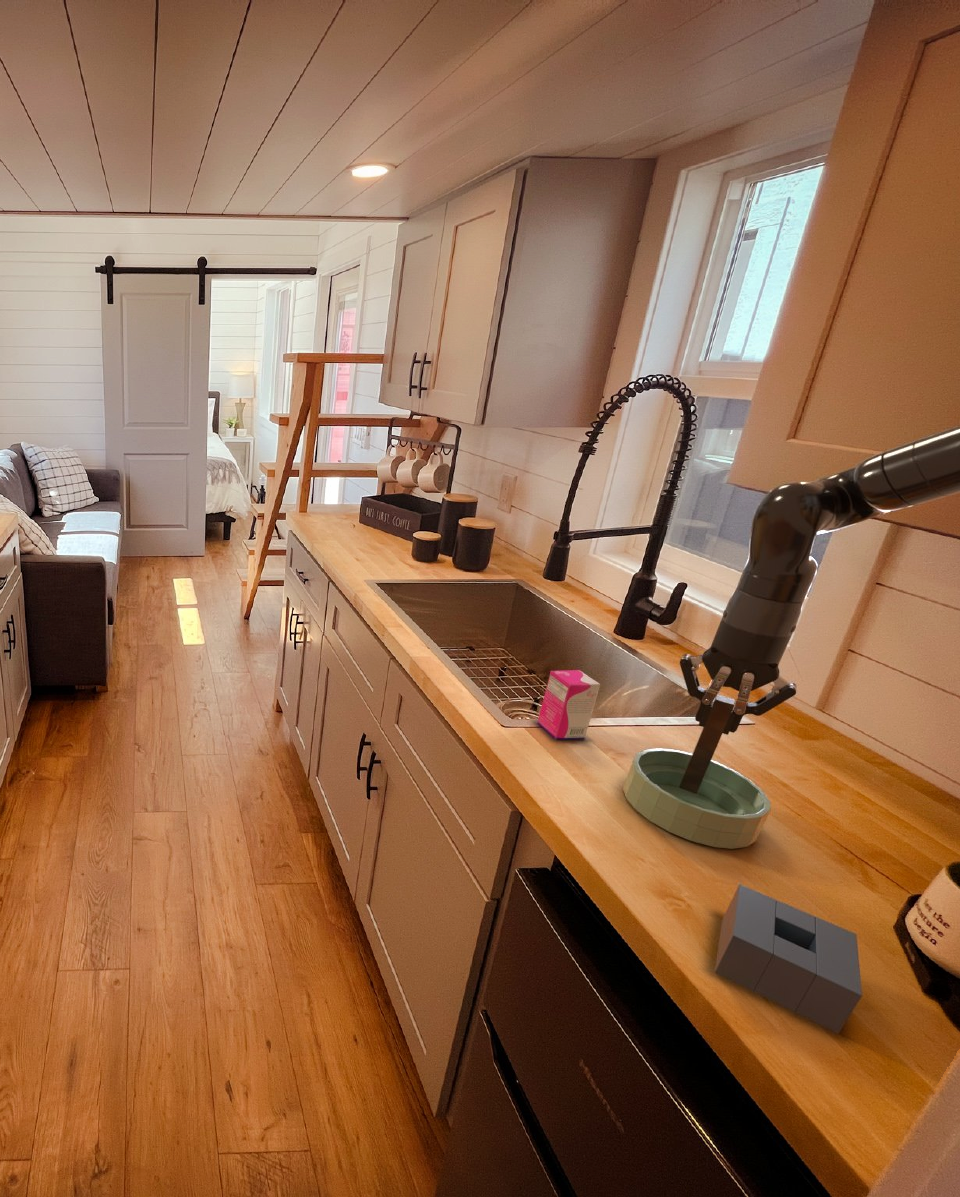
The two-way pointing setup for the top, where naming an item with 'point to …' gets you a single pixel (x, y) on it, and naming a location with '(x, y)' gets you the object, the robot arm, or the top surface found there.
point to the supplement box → (568, 704)
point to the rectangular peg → (707, 743)
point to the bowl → (696, 800)
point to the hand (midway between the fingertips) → (713, 727)
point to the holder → (790, 958)
